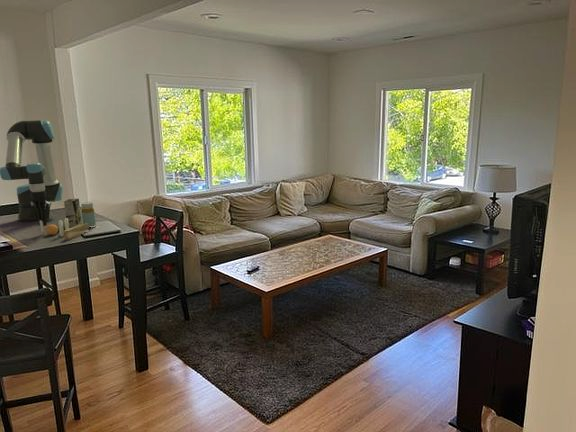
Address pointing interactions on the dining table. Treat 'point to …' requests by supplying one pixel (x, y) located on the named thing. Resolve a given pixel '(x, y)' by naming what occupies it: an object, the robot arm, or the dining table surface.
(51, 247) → the dining table surface
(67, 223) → the pin
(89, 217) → the bottle
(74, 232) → the back rail
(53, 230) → the ball
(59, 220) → the pin
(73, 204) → the coffee box
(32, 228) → the dining table surface
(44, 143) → the robot arm
